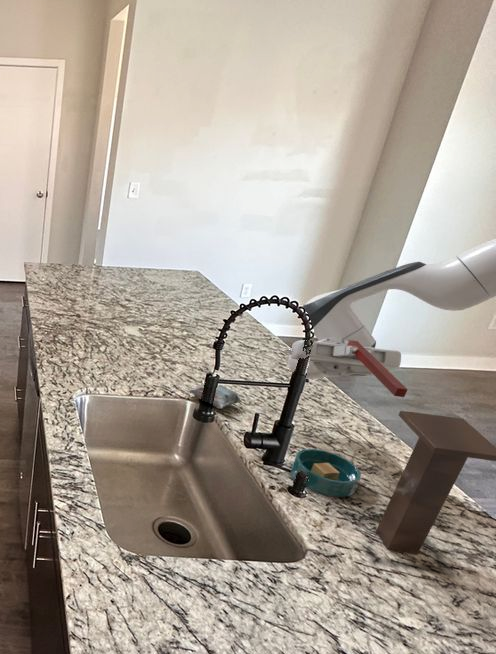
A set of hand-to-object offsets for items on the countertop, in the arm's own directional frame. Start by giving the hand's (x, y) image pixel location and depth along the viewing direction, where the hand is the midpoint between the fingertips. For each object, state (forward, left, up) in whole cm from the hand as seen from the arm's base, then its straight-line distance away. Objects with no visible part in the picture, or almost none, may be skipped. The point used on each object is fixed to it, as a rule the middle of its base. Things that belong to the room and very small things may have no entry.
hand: (361, 351), depth 109 cm
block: (+1, +4, -30) cm, 30 cm away
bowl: (+1, +4, -30) cm, 31 cm away
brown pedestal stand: (-6, +22, -30) cm, 38 cm away
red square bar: (0, +6, -1) cm, 6 cm away
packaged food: (+19, -28, -31) cm, 45 cm away
